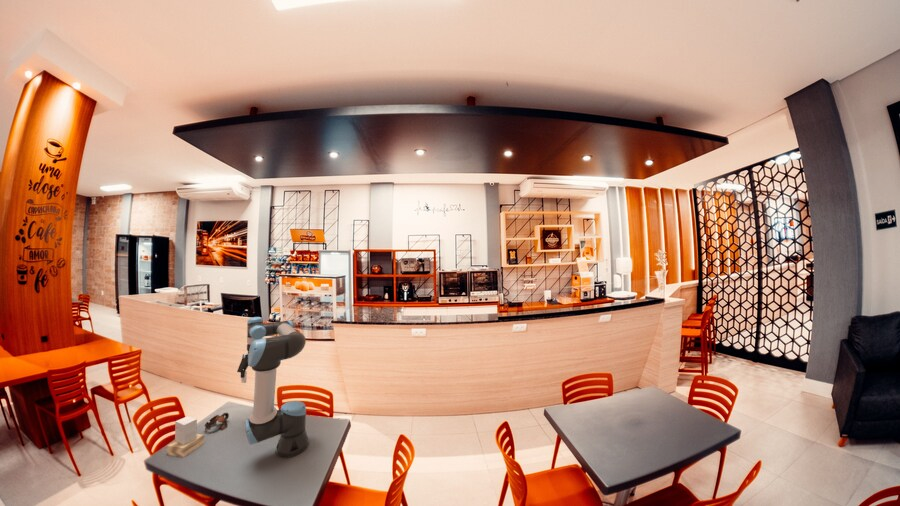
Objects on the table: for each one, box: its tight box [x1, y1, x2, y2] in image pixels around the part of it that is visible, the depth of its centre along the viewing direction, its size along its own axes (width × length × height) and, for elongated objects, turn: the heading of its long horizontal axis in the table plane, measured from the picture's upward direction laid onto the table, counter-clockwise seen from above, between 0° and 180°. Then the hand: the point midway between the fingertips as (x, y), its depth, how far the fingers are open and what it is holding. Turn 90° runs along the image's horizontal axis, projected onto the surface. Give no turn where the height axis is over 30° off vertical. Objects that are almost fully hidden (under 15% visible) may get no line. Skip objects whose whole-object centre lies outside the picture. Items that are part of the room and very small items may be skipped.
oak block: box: [166, 433, 205, 458], centre depth 144 cm, size 10×10×5 cm
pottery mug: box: [204, 412, 230, 431], centre depth 162 cm, size 12×10×8 cm
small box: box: [174, 415, 198, 445], centre depth 144 cm, size 8×6×10 cm
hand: (253, 377), depth 169 cm, fingers open, 13 cm apart
